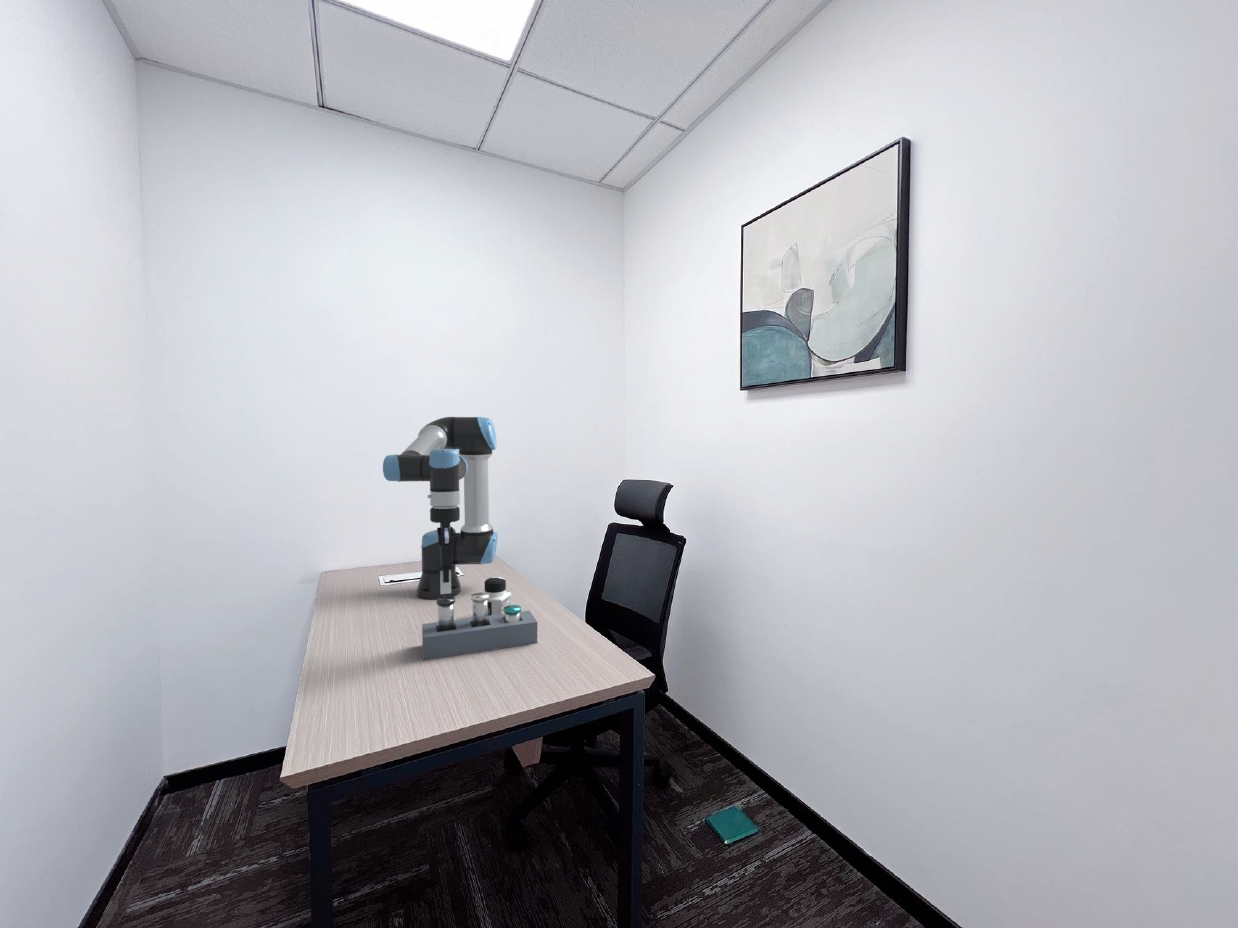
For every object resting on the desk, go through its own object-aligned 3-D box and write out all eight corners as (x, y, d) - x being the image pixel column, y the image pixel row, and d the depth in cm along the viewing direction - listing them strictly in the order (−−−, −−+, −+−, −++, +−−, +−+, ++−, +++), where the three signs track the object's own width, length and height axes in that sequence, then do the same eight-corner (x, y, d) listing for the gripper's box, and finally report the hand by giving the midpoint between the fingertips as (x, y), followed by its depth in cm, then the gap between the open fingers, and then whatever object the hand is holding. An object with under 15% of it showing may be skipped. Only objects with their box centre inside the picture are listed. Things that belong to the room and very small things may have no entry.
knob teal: (502, 634, 146) (502, 606, 146) (519, 632, 148) (519, 604, 148) (505, 640, 142) (505, 611, 141) (522, 638, 144) (522, 609, 143)
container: (501, 624, 156) (501, 582, 155) (478, 622, 158) (478, 581, 157) (511, 615, 164) (511, 576, 163) (489, 613, 165) (489, 574, 165)
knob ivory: (470, 622, 142) (470, 593, 142) (487, 620, 144) (487, 591, 144) (472, 628, 138) (472, 598, 138) (490, 626, 140) (490, 596, 139)
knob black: (436, 627, 139) (436, 597, 139) (454, 624, 141) (454, 595, 140) (437, 633, 135) (437, 602, 134) (456, 631, 136) (455, 600, 136)
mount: (422, 645, 140) (422, 624, 140) (529, 629, 152) (529, 610, 152) (423, 660, 131) (423, 637, 131) (537, 642, 143) (537, 621, 142)
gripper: (429, 504, 140) (430, 587, 142) (431, 510, 128) (432, 601, 130) (457, 502, 143) (458, 584, 145) (461, 509, 131) (462, 598, 133)
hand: (445, 592), depth 137 cm, fingers closed
